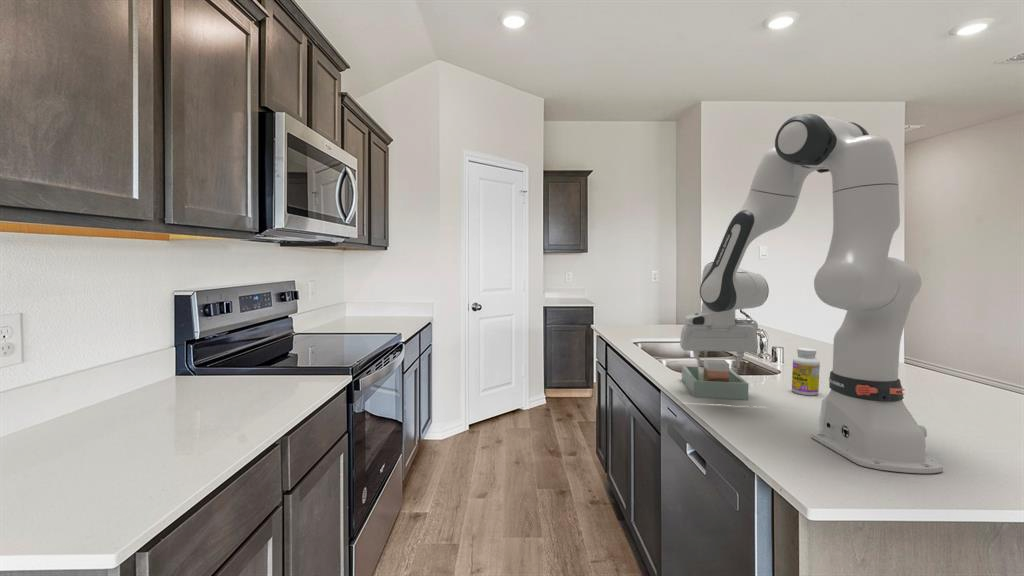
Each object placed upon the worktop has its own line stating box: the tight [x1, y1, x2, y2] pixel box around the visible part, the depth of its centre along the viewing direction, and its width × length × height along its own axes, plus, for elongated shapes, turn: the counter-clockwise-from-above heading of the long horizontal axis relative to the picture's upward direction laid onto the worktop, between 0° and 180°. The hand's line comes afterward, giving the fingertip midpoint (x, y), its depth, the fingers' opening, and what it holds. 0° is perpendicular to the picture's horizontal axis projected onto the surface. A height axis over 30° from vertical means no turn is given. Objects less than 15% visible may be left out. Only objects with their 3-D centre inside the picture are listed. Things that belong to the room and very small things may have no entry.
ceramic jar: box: [698, 359, 704, 381], centre depth 144 cm, size 6×6×7 cm
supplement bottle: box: [791, 347, 821, 396], centre depth 137 cm, size 7×7×13 cm
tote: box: [681, 365, 749, 401], centre depth 139 cm, size 20×14×5 cm
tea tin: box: [703, 358, 730, 382], centre depth 135 cm, size 6×6×9 cm
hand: (718, 366), depth 135 cm, fingers open, 8 cm apart
